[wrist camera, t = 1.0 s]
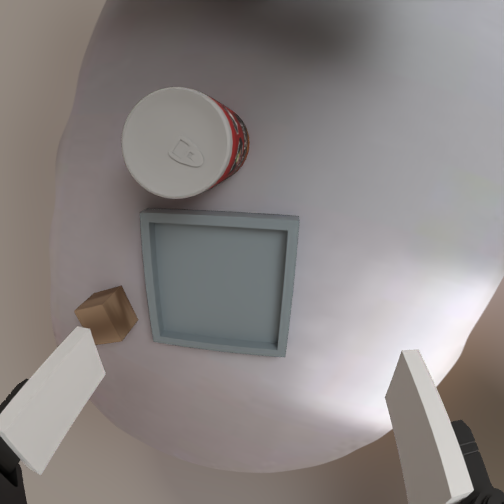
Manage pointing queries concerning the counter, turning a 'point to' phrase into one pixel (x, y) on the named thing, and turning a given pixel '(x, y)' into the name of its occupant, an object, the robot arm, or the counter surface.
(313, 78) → the counter surface
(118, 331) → the walnut block
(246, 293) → the tray
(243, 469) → the counter surface
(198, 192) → the canned food
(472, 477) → the robot arm
